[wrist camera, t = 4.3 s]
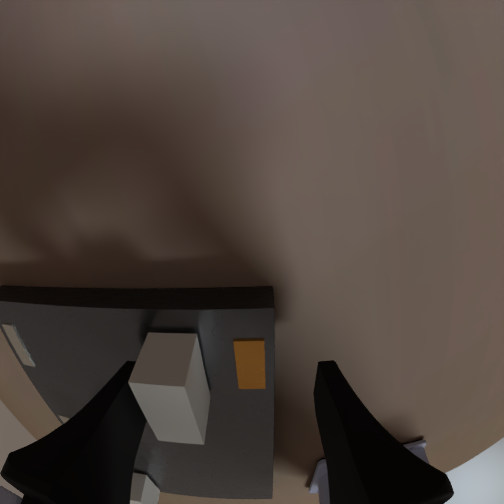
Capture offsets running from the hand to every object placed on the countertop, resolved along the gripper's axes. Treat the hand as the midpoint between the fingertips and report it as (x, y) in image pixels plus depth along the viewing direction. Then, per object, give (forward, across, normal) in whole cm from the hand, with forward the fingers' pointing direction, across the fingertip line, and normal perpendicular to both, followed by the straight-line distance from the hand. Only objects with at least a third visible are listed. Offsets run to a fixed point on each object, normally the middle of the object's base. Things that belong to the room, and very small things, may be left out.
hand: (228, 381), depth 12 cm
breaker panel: (+2, +6, +8) cm, 10 cm away
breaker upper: (+1, +9, +16) cm, 18 cm away
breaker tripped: (+1, +2, 0) cm, 2 cm away
